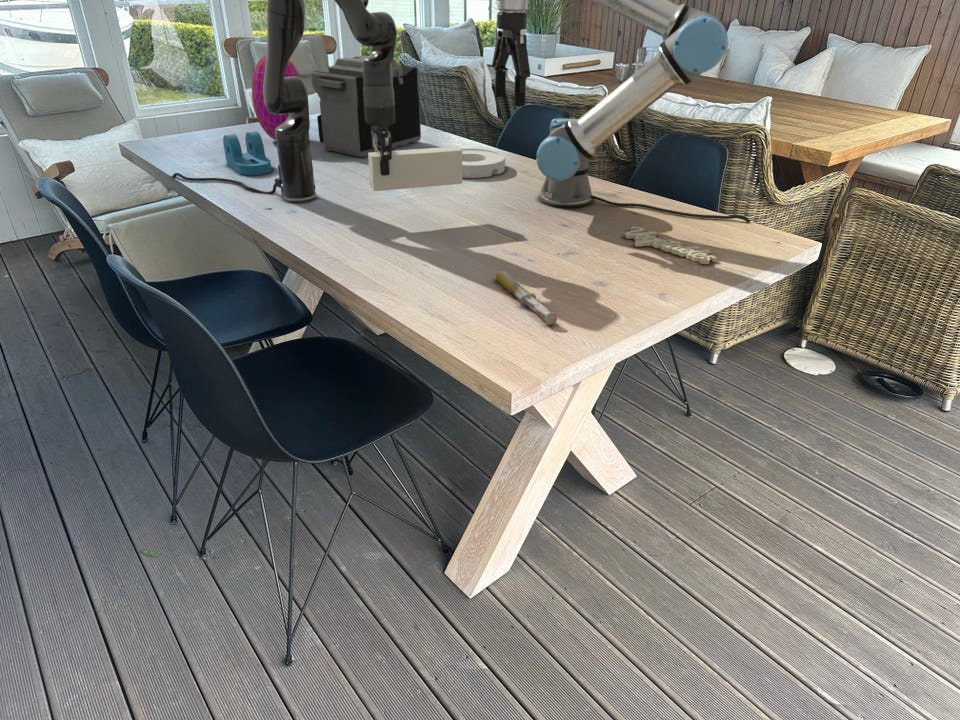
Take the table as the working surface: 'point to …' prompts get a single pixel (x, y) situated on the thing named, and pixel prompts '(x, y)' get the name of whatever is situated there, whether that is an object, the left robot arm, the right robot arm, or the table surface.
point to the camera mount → (246, 154)
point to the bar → (417, 168)
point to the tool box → (345, 107)
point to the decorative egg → (263, 115)
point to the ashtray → (481, 162)
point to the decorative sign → (669, 245)
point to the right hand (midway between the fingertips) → (509, 101)
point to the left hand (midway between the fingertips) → (382, 172)
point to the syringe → (525, 297)
